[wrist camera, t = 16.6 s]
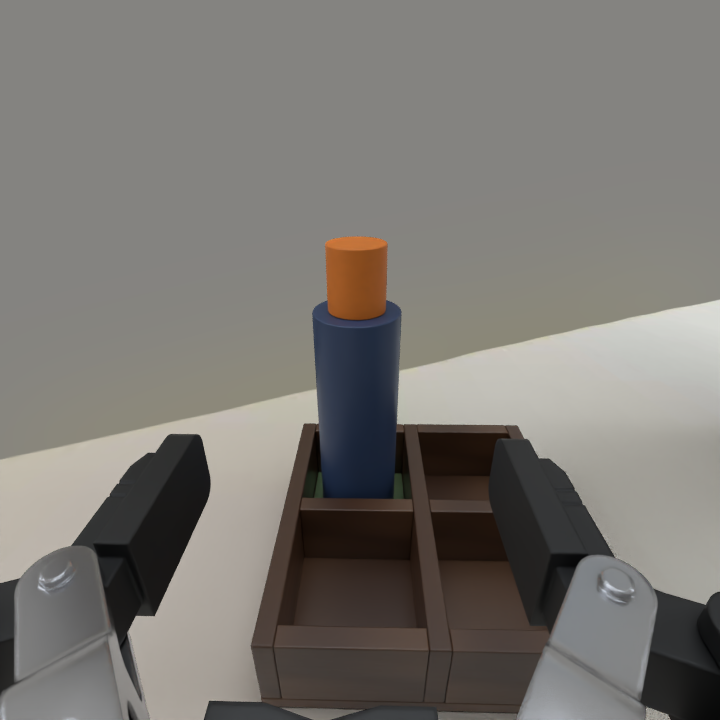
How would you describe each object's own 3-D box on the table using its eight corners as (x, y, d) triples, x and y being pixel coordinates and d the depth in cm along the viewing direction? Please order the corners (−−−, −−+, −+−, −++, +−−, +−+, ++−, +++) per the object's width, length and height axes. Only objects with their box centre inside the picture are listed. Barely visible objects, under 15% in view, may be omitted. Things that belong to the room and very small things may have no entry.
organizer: (507, 474, 28) (517, 425, 26) (606, 715, 16) (636, 655, 14) (307, 472, 28) (303, 422, 26) (262, 707, 17) (249, 647, 15)
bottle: (391, 481, 26) (400, 233, 20) (395, 534, 23) (408, 253, 16) (326, 481, 26) (314, 233, 20) (320, 533, 23) (301, 253, 16)
